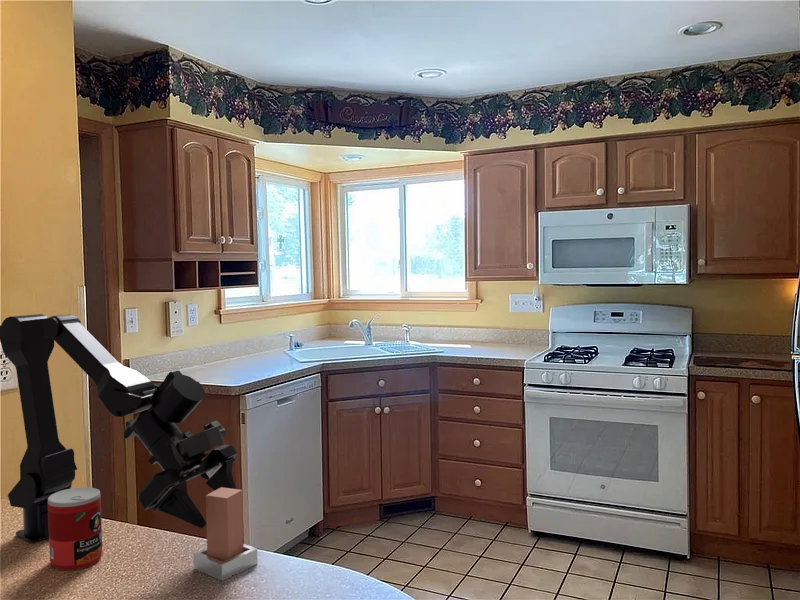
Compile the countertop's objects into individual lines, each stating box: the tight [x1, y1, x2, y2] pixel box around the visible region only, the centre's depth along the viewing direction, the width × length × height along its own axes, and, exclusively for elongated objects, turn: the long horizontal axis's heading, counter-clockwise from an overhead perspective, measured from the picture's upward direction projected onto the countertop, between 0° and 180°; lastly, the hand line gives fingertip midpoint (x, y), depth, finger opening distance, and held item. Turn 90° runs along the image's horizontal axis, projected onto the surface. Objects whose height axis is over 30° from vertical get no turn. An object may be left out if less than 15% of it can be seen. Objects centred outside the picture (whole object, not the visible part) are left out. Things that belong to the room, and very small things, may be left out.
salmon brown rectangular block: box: [205, 487, 244, 562], centre depth 104 cm, size 4×4×12 cm
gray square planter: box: [192, 543, 258, 581], centre depth 105 cm, size 7×7×2 cm
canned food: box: [48, 486, 103, 571], centre depth 107 cm, size 8×8×11 cm
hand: (222, 515), depth 104 cm, fingers open, 9 cm apart
